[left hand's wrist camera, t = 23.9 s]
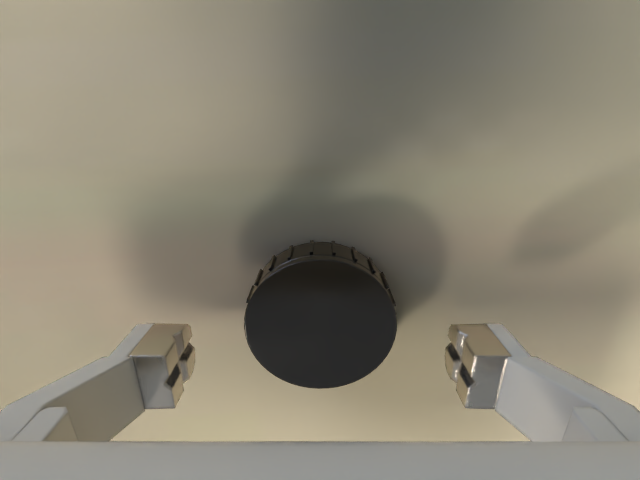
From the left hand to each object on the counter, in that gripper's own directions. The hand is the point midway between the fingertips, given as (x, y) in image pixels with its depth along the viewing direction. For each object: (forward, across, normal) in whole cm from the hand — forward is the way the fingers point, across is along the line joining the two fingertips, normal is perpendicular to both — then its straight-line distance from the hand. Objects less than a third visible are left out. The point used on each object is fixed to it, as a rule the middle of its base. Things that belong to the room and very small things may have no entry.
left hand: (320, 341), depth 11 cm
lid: (+1, 0, 0) cm, 1 cm away
